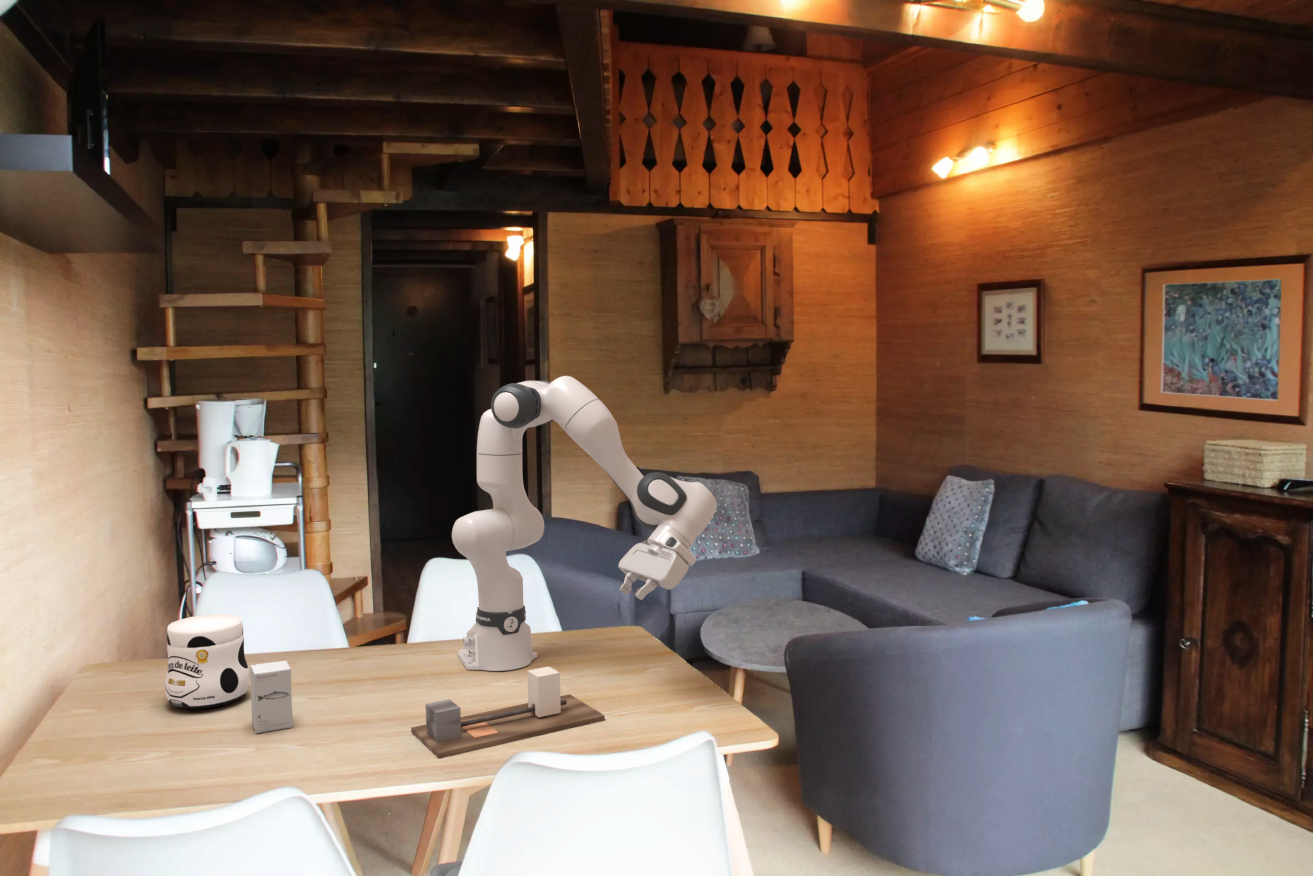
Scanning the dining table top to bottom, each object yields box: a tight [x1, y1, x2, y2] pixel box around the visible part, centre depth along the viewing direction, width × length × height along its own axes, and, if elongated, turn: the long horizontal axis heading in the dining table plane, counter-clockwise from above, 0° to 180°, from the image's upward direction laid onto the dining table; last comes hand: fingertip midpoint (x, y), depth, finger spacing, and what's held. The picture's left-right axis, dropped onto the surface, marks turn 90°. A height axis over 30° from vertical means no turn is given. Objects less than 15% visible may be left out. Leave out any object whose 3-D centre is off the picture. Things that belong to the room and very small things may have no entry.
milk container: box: [164, 613, 250, 710], centre depth 220 cm, size 17×17×18 cm
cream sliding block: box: [526, 666, 561, 717], centre depth 207 cm, size 5×5×8 cm
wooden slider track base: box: [410, 693, 606, 759], centre depth 203 cm, size 16×36×7 cm, turn 122°
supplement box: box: [249, 660, 294, 734], centre depth 205 cm, size 7×7×13 cm
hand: (630, 594), depth 217 cm, fingers open, 5 cm apart
